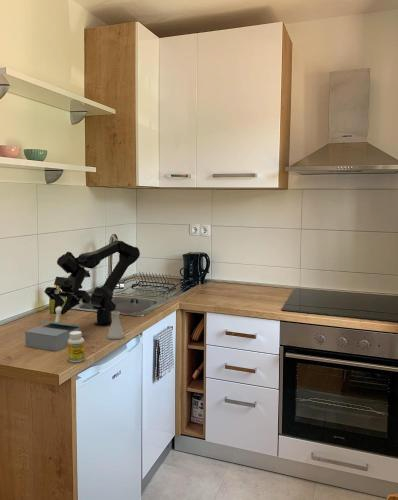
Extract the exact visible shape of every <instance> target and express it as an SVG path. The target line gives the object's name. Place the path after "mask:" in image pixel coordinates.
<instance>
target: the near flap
mask: <svg viewBox="0 0 398 500" xmlns="http://www.w3.org/2000/svg"><path fill="white" fill-rule="evenodd" d="M62 309H63V306H62V307H61V306H58V307H57V308H56V309H55V312H56V314H55V320H54V321H53V320H51V321H50V320H42V319H41V320H39V322H40V323H47V324H50V323H53V324H60V325H67V326H76V327H80V328H81V325H80V324H71V323H65V322H60V321H61V316H62V314H61V311H62Z"/></svg>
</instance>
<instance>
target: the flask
mask: <svg viewBox="0 0 398 500" xmlns="http://www.w3.org/2000/svg"><path fill="white" fill-rule="evenodd" d="M111 319H112V323H111V324H110V325H109V330H108V333H107V336H106V338H107V340H114V341H115V340H122V339H124V338H126V334H125V332H124V330H123V329H124V328H123V326H122V324H121V320H120V311H111Z"/></svg>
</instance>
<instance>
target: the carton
mask: <svg viewBox="0 0 398 500" xmlns="http://www.w3.org/2000/svg"><path fill="white" fill-rule="evenodd" d="M73 331H81V326H80V327H76V326H67V325H60V324H53V323H47V324H45V325H42V326H36V327H34V328H30V329H28V330H25V331H24V334H25V335H24V336H25V337H24V338H25V340H24V341H25V347H28V348H35V349H40V350H46V351H51V352H52V351H53V352H58V351H59V350H62V349H63V348H66V347H68V340H69V339H70V332H73Z"/></svg>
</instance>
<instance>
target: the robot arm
mask: <svg viewBox="0 0 398 500" xmlns="http://www.w3.org/2000/svg"><path fill="white" fill-rule="evenodd" d="M116 253H117V254H118V261H117V263H116V264H115V266H114V267H113V269H112V271H111V273H110V274H109V276H107V277H108V278H107V279H106V280H105V282H104V283H103V284H102V286H101V287H99V286H96V287H95V288H94V290H93V292H92V293H91V294H89V293H88V292H87V291H86V290H85V289H84V290H83V282H84V280H85V278H91V273H90V271H89V270H87V269H91V270H92V269H94V268H96V267H97V266H98V265H100V263H101V261H103V260H104V259H106V258H108V257H109V256H112V255H114V254H116ZM140 256H141V253H140V249H139V247H136V246H134V245H131V244H129V243H126V242H124V241H123V240H113V241H112V242H110V243H109V244H108V243H107V244H105V246H102V247H101V248H99V249H96V250H95V251H88V252H83V253H80V254H79V255H78V256H77V257H76V256H74V254H73V253H72V252H71V251H66V253H64V254H62V255H61V256H59V257H58V258H57V261H56V264H57V265H58V266H59V267H60V268H61V269H62V270H63V271H64V272H65V273H66V274H69V276H67V277H65V276H63V277H62V276H56V277H55V280H54V283H53V285H54V286H57V287H58V288H57V287H54V286H47V287H46V288H45V290H44V291H43V292H44V293H45V295H46V296H47V297H49V299H50V300H53V301H54V307H53V313H54V315H56V312H55V309H56V308H57V307H58V306H61V307H62V308H63V309H62V311H61V316H64V315H65V314H66V313H68V311H70V310H71V309H73V308H74V307H76V306H78V305H80V304H81V303H80V301H81V302H82V304H86V305H89V304H91V306H92V308H93V310H96V322H93V323H94V325H98V326H104V327H108V326H111V323H112V312H114V311H115V310H116V304H115V302H114V301H112V300H113V298H114V297H113V295H114V293H113V292H114V291H115V288H116V287H117V286H118V284H119V282H120V281H121V279H122V277H123V276H124V274H125V272H126V271H127V270H128V268H129V266H131V265H133V264H134V263H136V261H137V260H139V258H140ZM58 289H59V290H58ZM64 298H66V300H64Z"/></svg>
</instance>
